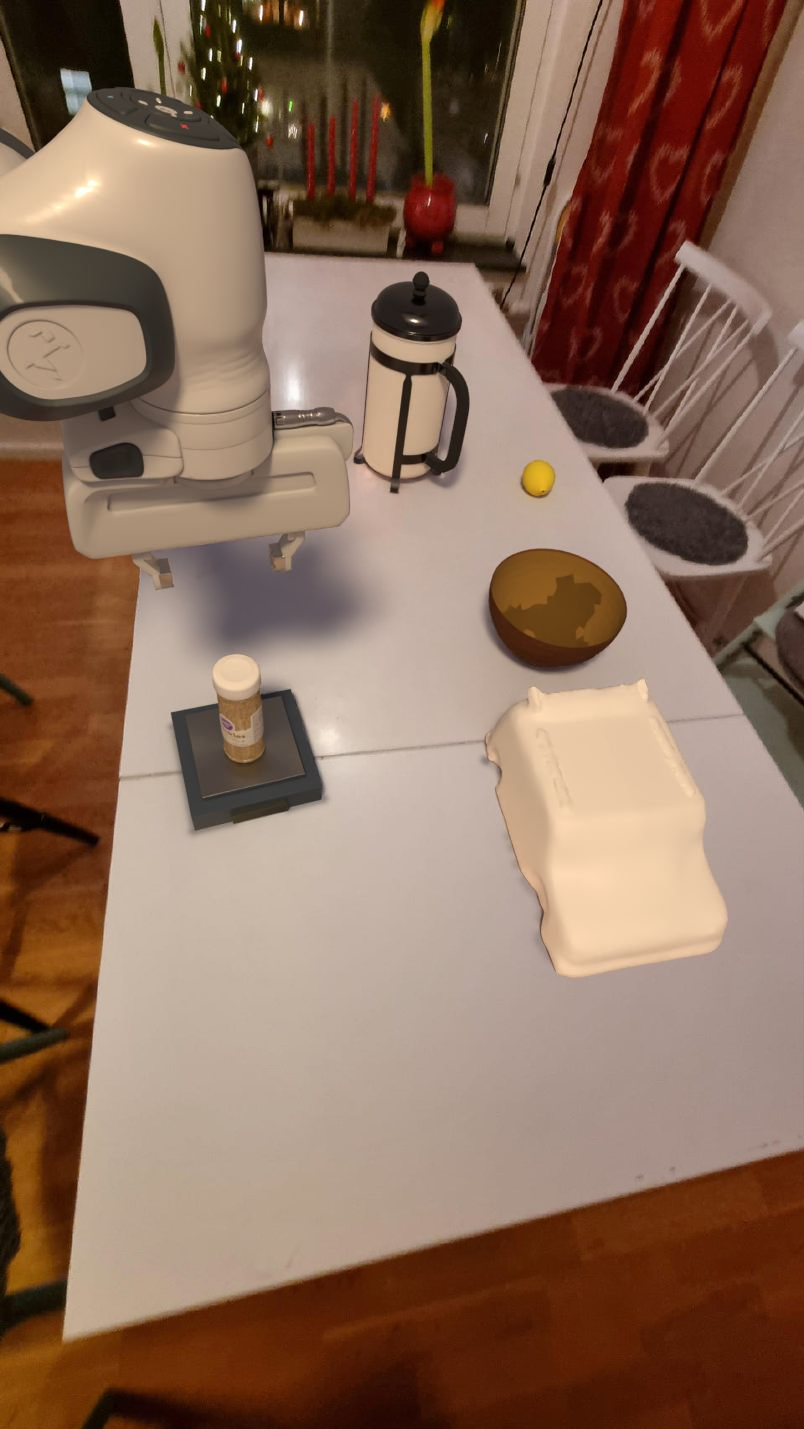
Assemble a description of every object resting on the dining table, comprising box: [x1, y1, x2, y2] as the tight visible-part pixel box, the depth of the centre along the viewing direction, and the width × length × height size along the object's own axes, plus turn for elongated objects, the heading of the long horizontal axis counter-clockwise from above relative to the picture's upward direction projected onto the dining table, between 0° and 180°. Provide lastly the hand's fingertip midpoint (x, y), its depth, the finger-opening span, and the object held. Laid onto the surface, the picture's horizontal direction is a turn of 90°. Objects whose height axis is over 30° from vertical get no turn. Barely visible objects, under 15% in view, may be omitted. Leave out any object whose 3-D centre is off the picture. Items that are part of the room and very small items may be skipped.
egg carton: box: [484, 675, 729, 979], centre depth 74 cm, size 19×30×13 cm, turn 12°
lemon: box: [521, 459, 556, 497], centre depth 115 cm, size 7×5×5 cm
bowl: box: [488, 548, 628, 669], centre depth 92 cm, size 18×18×10 cm
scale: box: [170, 688, 323, 831], centre depth 79 cm, size 14×15×3 cm
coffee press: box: [353, 270, 471, 494], centre depth 104 cm, size 17×16×30 cm
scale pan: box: [185, 696, 305, 801], centre depth 77 cm, size 11×11×1 cm
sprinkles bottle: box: [211, 653, 265, 763], centre depth 71 cm, size 5×5×13 cm
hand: (223, 574), depth 57 cm, fingers open, 8 cm apart
